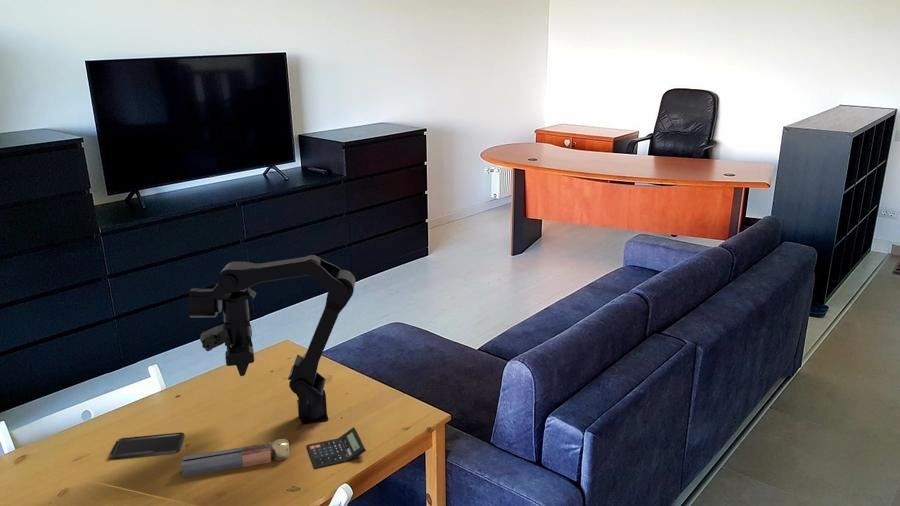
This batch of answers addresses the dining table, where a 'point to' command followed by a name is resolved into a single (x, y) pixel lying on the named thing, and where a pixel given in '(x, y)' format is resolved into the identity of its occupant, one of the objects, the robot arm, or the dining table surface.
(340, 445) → the calculator
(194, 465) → the bar
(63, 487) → the dining table surface
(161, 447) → the phone
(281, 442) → the arm
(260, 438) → the dining table surface
